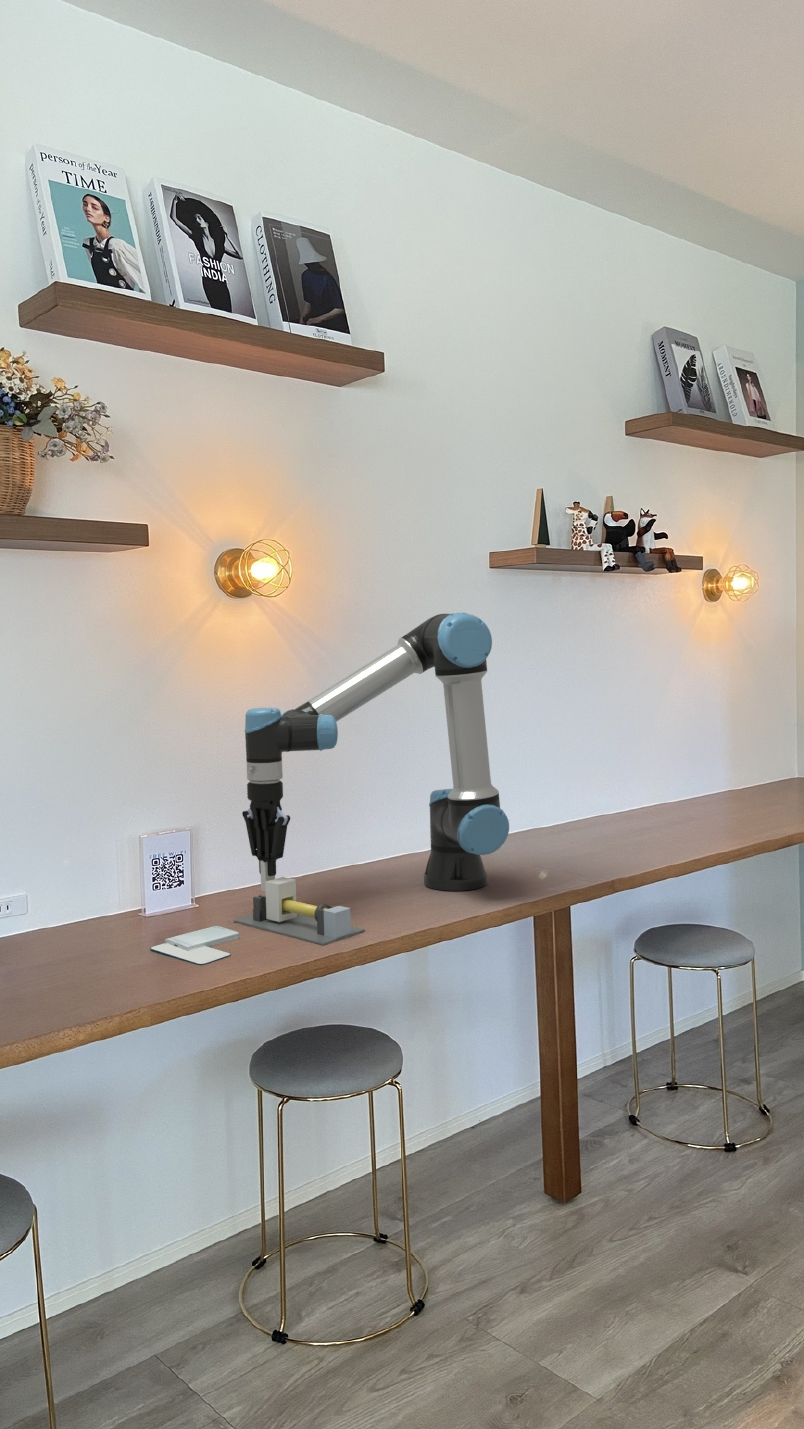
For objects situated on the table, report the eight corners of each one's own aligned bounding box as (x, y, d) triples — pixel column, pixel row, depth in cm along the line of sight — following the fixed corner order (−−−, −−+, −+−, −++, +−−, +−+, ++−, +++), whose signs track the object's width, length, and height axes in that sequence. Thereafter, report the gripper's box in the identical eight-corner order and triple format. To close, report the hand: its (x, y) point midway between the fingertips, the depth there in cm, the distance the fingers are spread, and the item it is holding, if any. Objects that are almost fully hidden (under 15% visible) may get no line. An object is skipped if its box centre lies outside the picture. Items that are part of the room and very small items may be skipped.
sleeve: (266, 918, 224) (265, 881, 223) (284, 913, 228) (282, 876, 227) (279, 922, 221) (278, 884, 221) (296, 916, 225) (295, 879, 224)
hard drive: (215, 924, 220) (163, 937, 211) (239, 932, 214) (187, 946, 205) (216, 932, 220) (164, 945, 211) (239, 940, 214) (187, 954, 205)
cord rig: (233, 921, 226) (232, 894, 225) (275, 909, 235) (275, 883, 234) (323, 945, 208) (322, 916, 208) (364, 931, 217) (364, 903, 217)
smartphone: (233, 958, 203) (180, 942, 213) (233, 953, 203) (180, 938, 213) (200, 969, 197) (147, 952, 207) (200, 964, 197) (147, 948, 207)
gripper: (231, 780, 226) (235, 889, 228) (272, 785, 218) (275, 898, 220) (258, 776, 232) (261, 882, 234) (298, 781, 223) (302, 891, 225)
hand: (268, 890), depth 227 cm, fingers closed
